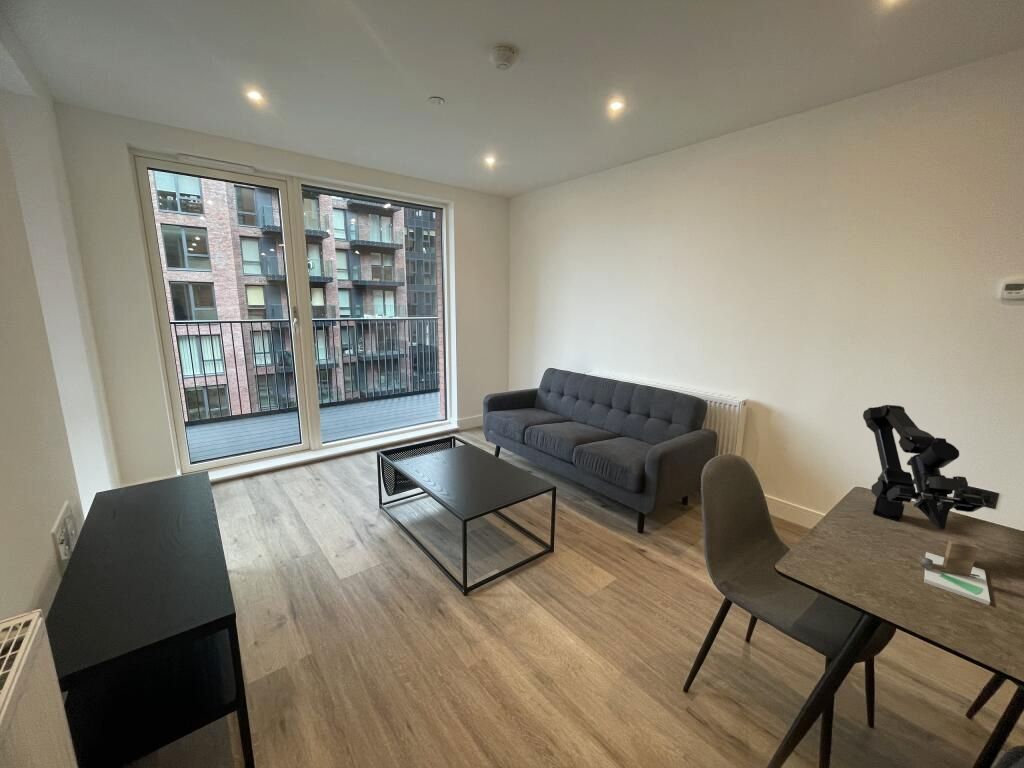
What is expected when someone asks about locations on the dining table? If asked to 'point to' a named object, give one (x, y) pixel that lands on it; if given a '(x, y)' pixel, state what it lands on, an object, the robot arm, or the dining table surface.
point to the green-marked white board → (958, 581)
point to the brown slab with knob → (955, 559)
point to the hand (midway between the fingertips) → (941, 529)
